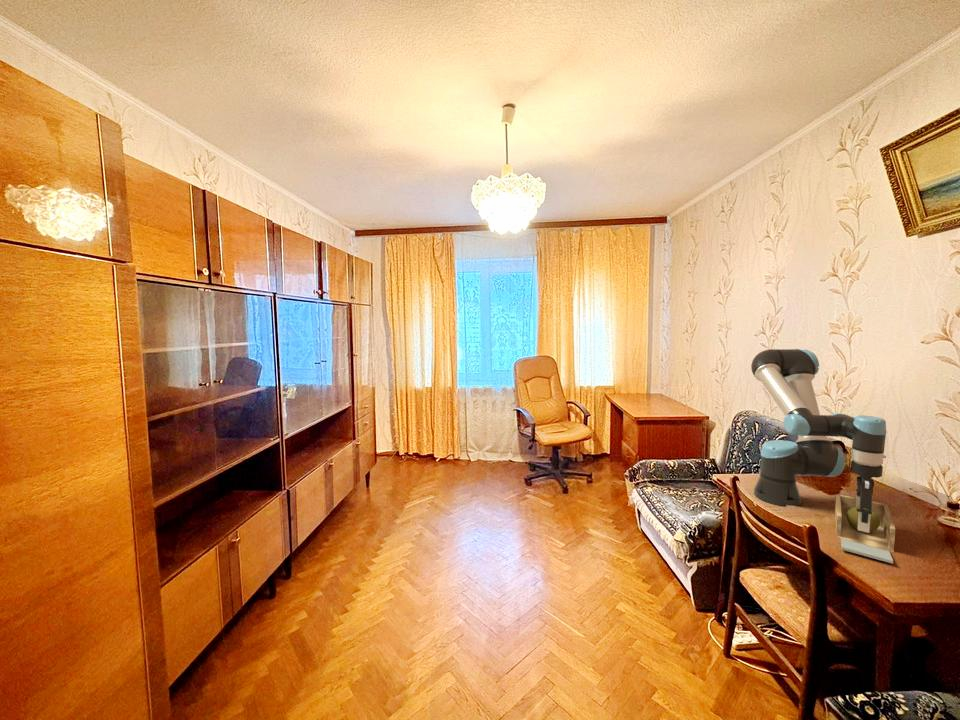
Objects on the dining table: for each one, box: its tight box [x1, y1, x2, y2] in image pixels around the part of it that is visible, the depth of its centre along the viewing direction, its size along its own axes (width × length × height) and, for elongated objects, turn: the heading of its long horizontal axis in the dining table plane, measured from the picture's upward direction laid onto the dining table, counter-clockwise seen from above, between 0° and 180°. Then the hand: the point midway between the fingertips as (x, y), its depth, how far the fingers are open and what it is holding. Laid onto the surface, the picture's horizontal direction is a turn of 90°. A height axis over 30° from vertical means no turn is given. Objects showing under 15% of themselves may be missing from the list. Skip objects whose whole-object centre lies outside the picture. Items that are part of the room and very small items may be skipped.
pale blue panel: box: [840, 538, 894, 565], centre depth 117 cm, size 11×1×9 cm
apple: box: [846, 507, 880, 532], centre depth 129 cm, size 8×8×7 cm
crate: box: [834, 493, 896, 553], centre depth 129 cm, size 13×22×8 cm, turn 138°
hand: (861, 522), depth 129 cm, fingers open, 13 cm apart
